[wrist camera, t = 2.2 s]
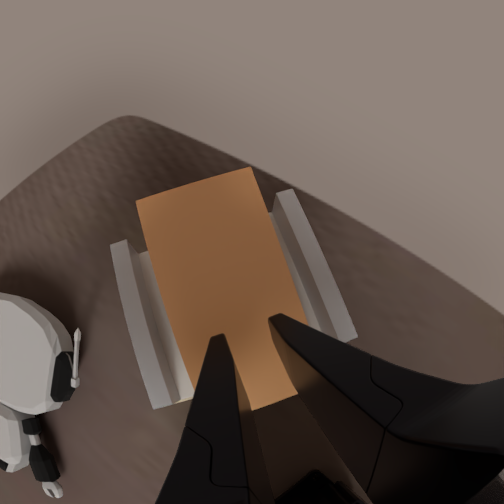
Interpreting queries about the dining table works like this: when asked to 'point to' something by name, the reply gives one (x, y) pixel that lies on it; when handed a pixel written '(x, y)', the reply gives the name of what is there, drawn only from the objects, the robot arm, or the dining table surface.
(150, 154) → the dining table surface
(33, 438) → the robot toy
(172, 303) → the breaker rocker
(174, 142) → the dining table surface
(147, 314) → the box
